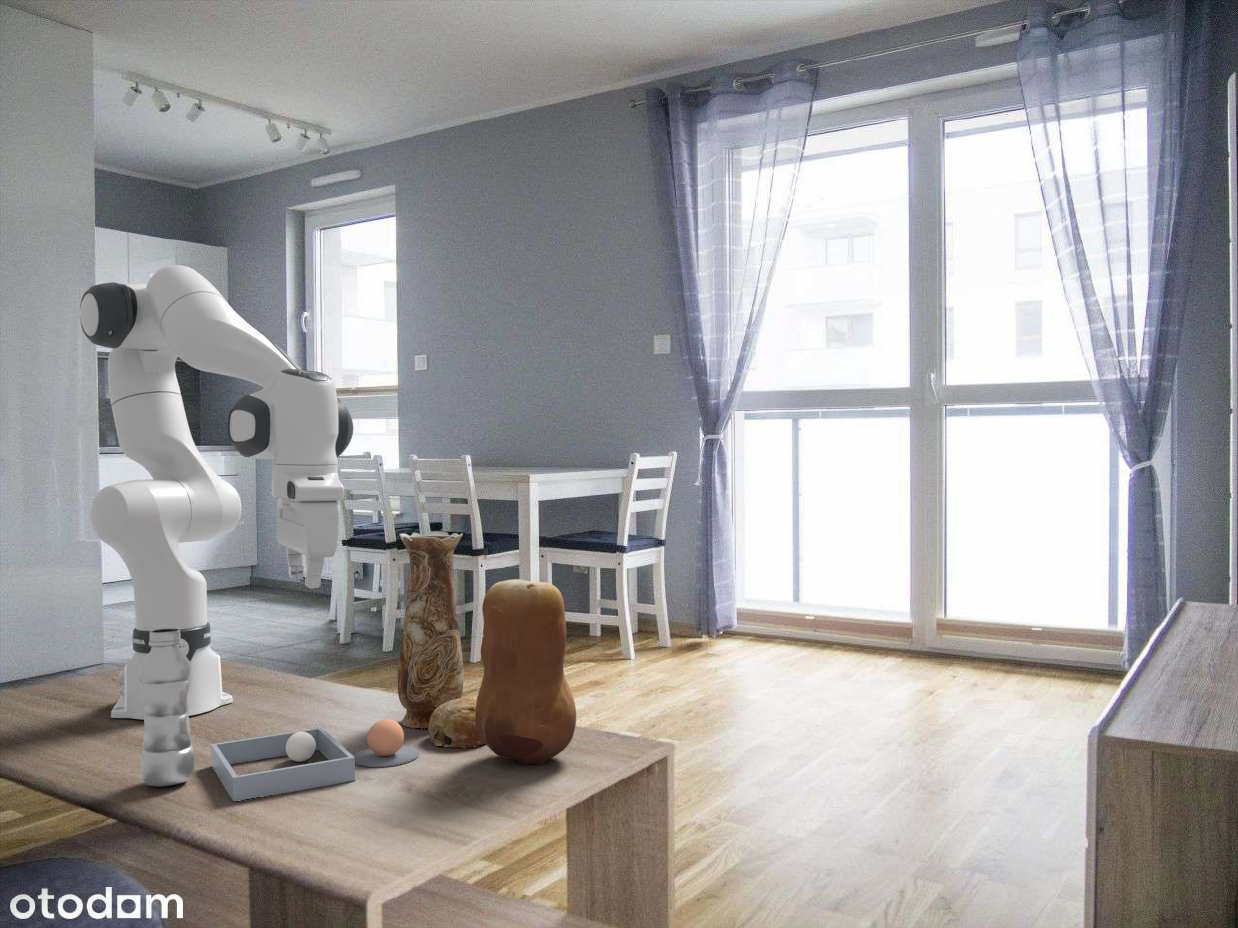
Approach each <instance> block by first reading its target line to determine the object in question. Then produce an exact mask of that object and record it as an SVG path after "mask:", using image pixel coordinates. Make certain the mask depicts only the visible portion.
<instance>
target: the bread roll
mask: <svg viewBox="0 0 1238 928" xmlns="http://www.w3.org/2000/svg"><path fill="white" fill-rule="evenodd" d="M476 702H477V699H473V698H470V697H461V698H459V699H454V700H451V701H448V702H446V703H444V704H442V705H440V706H439V707H438V708H436V709H435V711H434V712H433V713H432V715H431V717H430V720H429V724H428V729H427V730H428V737H429V740H430V742H431V743H432V744H433V743H434V744H433V745H434V746H435V745H436V746H447V747H473V748H475V747H474V746H478V747H481V746H480V745H482V746H484V745H483V744H485V742H484V740H483V739H482V737H481V735H480V734H479V732H478V730H477V729H476V727H475V724H476V719H475V713H476ZM485 745H486V744H485ZM436 746H435V747H436Z"/></svg>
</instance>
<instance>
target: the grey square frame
mask: <svg viewBox="0 0 1238 928" xmlns="http://www.w3.org/2000/svg"><path fill="white" fill-rule="evenodd" d="M297 732H306V733H309V734H310V735H312V736H313V738H314V740H315V743H316V748H315V751H319V750H320V751H321V752H320V751H319V752H320V753H321V754H322V755H323V756H324V757H325V756H326V759H328V760H323V761H318V762H316V761H315V762H313V763H312V762H311V763H307V764H306V763H305V764H301V765H293V766H288V767H281V768H275V769H270V770H264V771H259V772H258V771H257V772H252V773H246V774H241V775H238V774H237V773H236V772H235V769H234V768H233V767H232V765H235V764H240V763H247V761H248V762H252V761H253V762H254V761H259V760H265V758H266V759H271V758H278V757H283V756H288V755H287V753H286V743H287V741H288V739H289V738H290V737H291V736H292V735H293V734H295V733H297ZM210 762H211V763H210V765H211V766H210V767H211V768H212V767H213V768H212V770H213V769H214V770H213V772H216V773H215V775H216V774H217V775H216V776H217V778H218V777H219V778H218V780H219V779H220V780H219V781H220V783H221V782H222V783H221V784H222V786H223V785H224V786H223V788H224V787H225V788H224V789H225V791H226V793H227V792H228V793H227V795H228V796H229V797H231V798H232V799H231V798H230V799H231V801H232V800H233V801H238V800H244V801H246V800H245V799H250V798H255V799H257V798H256V797H261V796H266V797H270V796H269V795H272V796H276V795H282V793H283V794H288V793H293V792H299V791H304V790H310V789H315V788H320V787H326V786H331V785H337V784H342V783H347V782H355V781H356V764H355V757H354V755H353V754H352V753H351V752H349V751H348V750H347V749H346V748H345V747H344V746H343V745H341V743H340V742H338V741H337V740H336V739H335V738H334V737H333V736H332V735H330V734H329V733H328V732H327V731H326V730H325V729H324V728H322V727H317V728H310V729H305V730H295V731H292V732H291V731H290V732H289V731H288V732H284V733H278V734H277V733H276V734H271V735H264V736H263V735H262V736H258V737H251V738H250V737H249V738H244V739H237V740H232V741H231V740H230V741H225V742H218V743H212V744H210ZM261 798H262V797H261ZM250 800H251V799H250ZM233 801H232V802H233Z"/></svg>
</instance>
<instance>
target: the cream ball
mask: <svg viewBox="0 0 1238 928" xmlns="http://www.w3.org/2000/svg"><path fill="white" fill-rule="evenodd" d="M315 748H316V743H315V740H314V738H313V736H312V735H310V734H309V733H306V732H297V733H295V734H293V735H292V736H291V737H290V738H289V739H288V741H287V743H286V753H287V755H286V756H288V758H289V759H290V760H292V761H294V762H300V763H301V762H305V761H308V760H309V759H310V758H311V757H312V756H313V755H314V754H315V751H316V750H315Z"/></svg>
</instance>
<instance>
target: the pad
mask: <svg viewBox="0 0 1238 928" xmlns="http://www.w3.org/2000/svg"><path fill="white" fill-rule="evenodd" d="M419 752H420V751H419V750H418V749H417V748H414V747H411V746H405V745H402V746H401V748H400V749H399V750H398V751H397V752H396V753H394V754H392V755H390V756H380V755H377V754H375V753H374V752H373V751H372V750H371V749H370V748H367V749H364V750H361V751H359V752H357V753H355V754H354V755H353V756H354V757H355V765H358V766H360V767H365V768H390V767H397V766H401V765H400V764H402V765H405V763H406V764H409V763H412V762H413V761H415V760H417V759H418V758H419V756H420V755H419V754H420V753H419ZM418 755H419V756H418ZM417 757H418V758H417ZM416 758H417V759H416ZM414 759H415V760H414ZM408 762H409V763H408Z"/></svg>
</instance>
